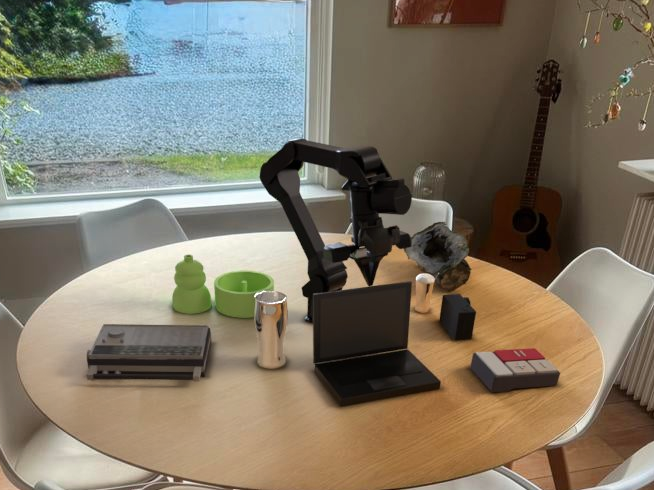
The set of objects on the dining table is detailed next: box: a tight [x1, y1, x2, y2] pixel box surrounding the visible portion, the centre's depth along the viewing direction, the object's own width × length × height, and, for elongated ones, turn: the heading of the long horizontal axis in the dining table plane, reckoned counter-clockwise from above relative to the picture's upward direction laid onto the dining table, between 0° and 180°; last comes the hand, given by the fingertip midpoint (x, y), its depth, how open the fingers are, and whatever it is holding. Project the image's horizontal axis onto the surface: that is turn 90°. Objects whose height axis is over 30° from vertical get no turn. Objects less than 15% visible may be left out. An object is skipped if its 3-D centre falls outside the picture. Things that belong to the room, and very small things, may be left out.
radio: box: [86, 323, 212, 382], centre depth 155 cm, size 24×5×20 cm
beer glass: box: [253, 290, 289, 370], centre depth 153 cm, size 7×7×15 cm
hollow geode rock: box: [403, 221, 473, 293], centre depth 194 cm, size 28×13×15 cm
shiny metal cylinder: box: [414, 273, 439, 314], centre depth 178 cm, size 5×5×10 cm
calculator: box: [469, 347, 561, 393], centre depth 153 cm, size 11×4×15 cm
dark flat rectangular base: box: [313, 348, 442, 408], centre depth 151 cm, size 15×22×2 cm
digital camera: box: [438, 293, 477, 341], centre depth 170 cm, size 10×5×7 cm, turn 12°
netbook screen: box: [312, 280, 413, 365], centre depth 153 cm, size 15×22×1 cm
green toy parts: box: [171, 254, 275, 319], centre depth 177 cm, size 25×14×13 cm, turn 93°
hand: (370, 285), depth 160 cm, fingers closed
